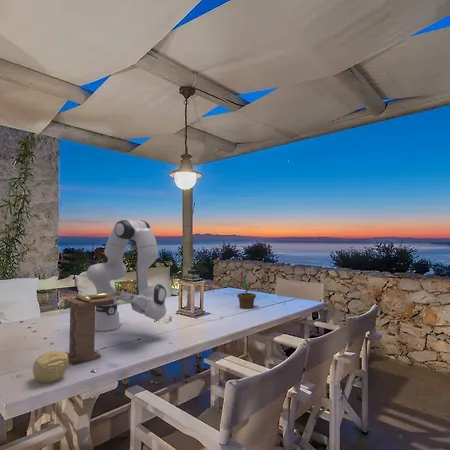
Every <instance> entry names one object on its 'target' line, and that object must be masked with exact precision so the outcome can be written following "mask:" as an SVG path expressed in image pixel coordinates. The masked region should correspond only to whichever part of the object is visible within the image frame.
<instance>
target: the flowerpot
mask: <svg viewBox="0 0 450 450" xmlns="http://www.w3.org/2000/svg"><path fill="white" fill-rule="evenodd" d="M243 281H244V283H245V284H244V285H243V286H242V288H243V289H245V292H239V293H237V296H236V297H237V298H238V302H239V308H240V309H241V310H252V309H254V304H255V299H256V297H257V295H256V293H253V292H248V290H249V288H248V285H247V281H246V279H245V277H244V275H243V268H241V270H240V285H242V284H243Z"/></svg>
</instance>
